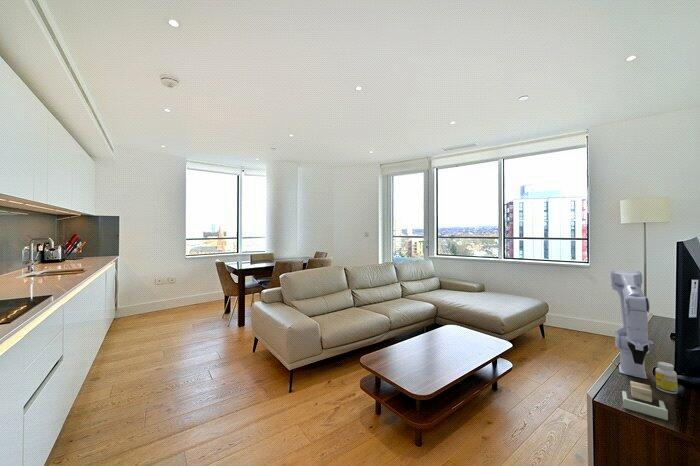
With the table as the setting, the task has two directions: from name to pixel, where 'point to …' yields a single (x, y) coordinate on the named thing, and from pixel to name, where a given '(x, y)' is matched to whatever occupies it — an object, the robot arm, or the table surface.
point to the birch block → (641, 391)
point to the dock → (645, 407)
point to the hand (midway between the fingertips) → (638, 363)
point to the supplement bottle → (666, 378)
